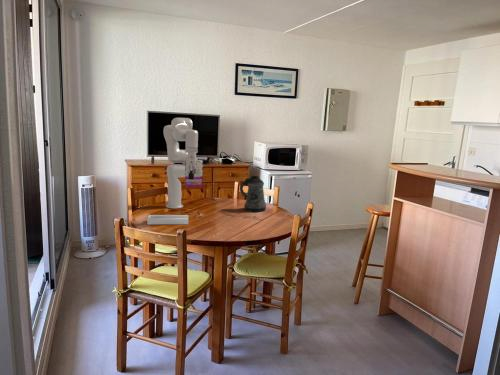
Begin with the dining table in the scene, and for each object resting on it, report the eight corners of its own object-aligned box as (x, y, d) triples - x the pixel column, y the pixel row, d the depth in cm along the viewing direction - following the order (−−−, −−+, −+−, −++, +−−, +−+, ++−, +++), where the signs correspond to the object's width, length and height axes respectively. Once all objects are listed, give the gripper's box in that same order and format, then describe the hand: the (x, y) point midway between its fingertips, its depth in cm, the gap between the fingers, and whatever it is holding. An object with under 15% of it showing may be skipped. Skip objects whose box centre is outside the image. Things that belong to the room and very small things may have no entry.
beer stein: (269, 211, 266) (271, 178, 261) (245, 213, 258) (246, 178, 254) (260, 206, 281) (262, 174, 277) (237, 208, 274) (238, 175, 269)
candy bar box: (202, 185, 234) (202, 160, 231) (202, 186, 230) (203, 161, 227) (184, 185, 232) (184, 159, 229) (185, 186, 227) (185, 160, 224)
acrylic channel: (149, 220, 229) (149, 215, 228) (188, 220, 233) (188, 215, 232) (147, 224, 220) (147, 218, 219) (188, 224, 224) (188, 218, 223)
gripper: (197, 151, 219) (197, 181, 222) (197, 149, 235) (196, 176, 238) (185, 151, 217) (184, 180, 221) (185, 148, 234) (185, 176, 237)
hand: (191, 178), depth 229 cm, fingers closed on candy bar box, 5 cm apart
